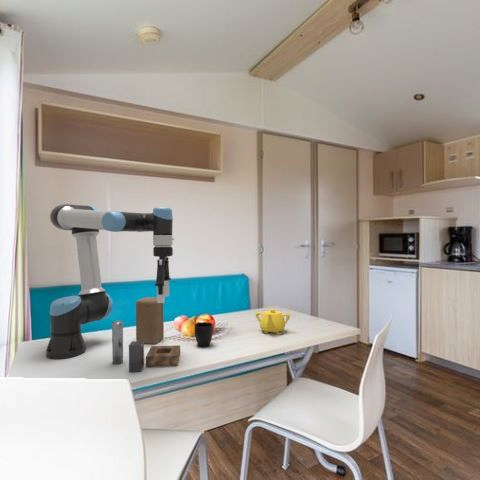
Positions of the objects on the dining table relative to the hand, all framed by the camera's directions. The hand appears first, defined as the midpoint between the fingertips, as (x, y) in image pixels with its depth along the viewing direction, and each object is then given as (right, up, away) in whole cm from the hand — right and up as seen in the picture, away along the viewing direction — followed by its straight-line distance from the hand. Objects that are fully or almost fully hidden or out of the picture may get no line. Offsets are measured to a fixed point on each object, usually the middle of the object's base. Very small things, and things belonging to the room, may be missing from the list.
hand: (163, 299), depth 135 cm
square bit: (-8, -25, -8) cm, 27 cm away
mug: (+13, -25, +21) cm, 35 cm away
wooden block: (-12, -24, +26) cm, 37 cm away
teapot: (+47, -24, +38) cm, 65 cm away
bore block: (0, -25, +1) cm, 25 cm away
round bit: (-18, -25, -1) cm, 31 cm away
